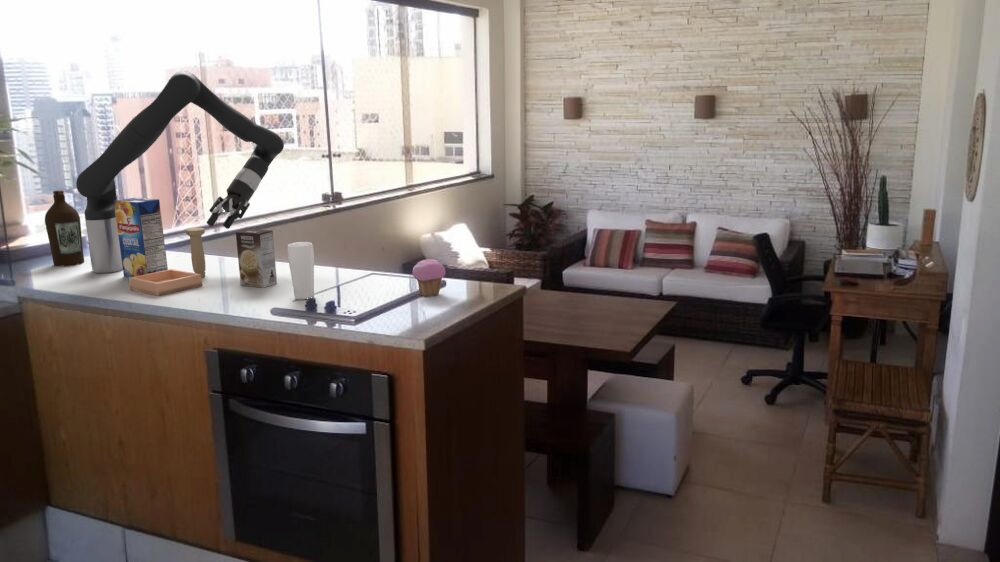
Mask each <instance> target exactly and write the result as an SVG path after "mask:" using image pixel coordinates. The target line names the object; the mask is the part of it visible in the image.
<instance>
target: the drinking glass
mask: <svg viewBox="0 0 1000 562" xmlns="http://www.w3.org/2000/svg"><path fill="white" fill-rule="evenodd" d="M287 257H288V264H289V265H288V266H289V270H290V276H291V282H292V286H293V287H292V288H293V296H294V299H296V300H298V301H306V300H305V299H307V298H311V297H313V298H314V297H315V258H314V257H315V253H314V245H313V242H309V241H296V242H292V243H289V244H287ZM311 299H312V298H311ZM307 300H308V299H307Z"/></svg>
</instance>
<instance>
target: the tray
mask: <svg viewBox="0 0 1000 562" xmlns="http://www.w3.org/2000/svg"><path fill="white" fill-rule="evenodd" d="M202 278H203V277H201V274H197V273H195V272H190V271H186V270H179V269H175V268H170V269H168V270H164V271H160V272H155V273H150V274H145V275H140V276H135V277H131V278H130V277H128V283H129V289H130V291H134V292H135V291H136V292H140V293H142V294H143V293H144V294H149V295H153V296H157V297H160V296H164V295H170V294H173V293H174V294H175V293H177V292H182V291H185V290H191V289H194V288H199V287H203V280H202Z"/></svg>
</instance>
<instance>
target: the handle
mask: <svg viewBox="0 0 1000 562" xmlns="http://www.w3.org/2000/svg"><path fill="white" fill-rule="evenodd" d="M184 230H185V234H186V235H187V236H189V239H190V241H189V242H190V255H191V257H190V258H191V263H192V264H191V265H192V270H193V273H197V274H201V278H205V277H206V267H207V266H206V256H205V250H204V245H203V238H202V236H203V235H204V234H205V232H206V231H205V228H204V227H189V228H188V227H187V228H185V229H184Z"/></svg>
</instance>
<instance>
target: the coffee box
mask: <svg viewBox="0 0 1000 562" xmlns="http://www.w3.org/2000/svg"><path fill="white" fill-rule="evenodd" d="M235 239H236V249H237V259H238V260H237V261H238V270H239V282H240V286H245V287H254V288H255V287H256V288H262V289H263V288H264V289H265V288H267V287H270V286H272V285H276V284H277V283H278V278H277V269H276V256H275V255H276V254H275V243H274V242H275V241H274V231H273V230H272V229H259V228H246V229H243V230H238V231H236V232H235Z"/></svg>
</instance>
